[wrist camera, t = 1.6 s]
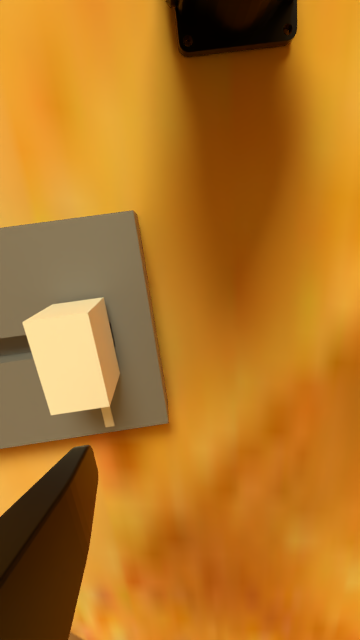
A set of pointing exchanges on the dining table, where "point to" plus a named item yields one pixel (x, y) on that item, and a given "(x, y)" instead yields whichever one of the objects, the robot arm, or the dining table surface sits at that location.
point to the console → (67, 286)
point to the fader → (74, 355)
